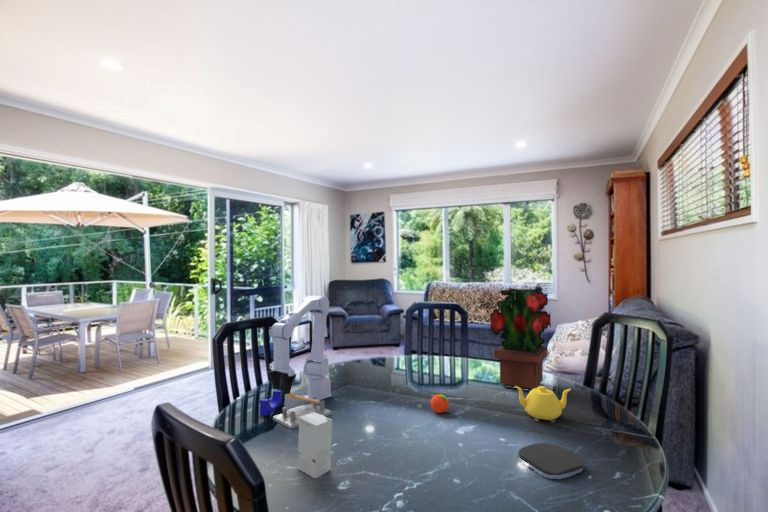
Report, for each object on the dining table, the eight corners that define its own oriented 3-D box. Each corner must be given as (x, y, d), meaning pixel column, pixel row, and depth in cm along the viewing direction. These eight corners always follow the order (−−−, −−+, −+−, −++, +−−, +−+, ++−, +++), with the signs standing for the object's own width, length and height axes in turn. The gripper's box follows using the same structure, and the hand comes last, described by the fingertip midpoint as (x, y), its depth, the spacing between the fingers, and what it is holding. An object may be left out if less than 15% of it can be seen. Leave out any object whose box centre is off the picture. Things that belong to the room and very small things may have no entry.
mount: (312, 406, 157) (312, 394, 157) (331, 414, 149) (331, 402, 149) (272, 419, 144) (272, 407, 144) (290, 429, 136) (290, 416, 136)
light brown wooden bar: (316, 403, 153) (318, 398, 154) (321, 405, 151) (323, 400, 151) (286, 396, 144) (288, 391, 144) (291, 398, 141) (293, 394, 142)
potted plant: (551, 383, 184) (550, 289, 185) (542, 397, 166) (541, 292, 166) (504, 376, 196) (503, 287, 197) (491, 388, 177) (490, 290, 178)
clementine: (454, 412, 149) (454, 394, 149) (444, 418, 144) (444, 399, 144) (437, 407, 155) (437, 389, 155) (427, 412, 150) (427, 394, 150)
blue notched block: (271, 404, 160) (271, 389, 160) (281, 405, 159) (281, 390, 159) (256, 415, 148) (256, 400, 148) (267, 416, 147) (267, 400, 148)
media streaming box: (551, 484, 102) (551, 472, 102) (512, 458, 116) (512, 448, 116) (590, 471, 108) (590, 461, 108) (549, 448, 122) (549, 439, 122)
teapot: (565, 410, 151) (565, 381, 151) (576, 427, 136) (576, 394, 136) (511, 407, 155) (511, 378, 155) (517, 422, 140) (516, 391, 140)
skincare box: (296, 469, 110) (296, 417, 110) (313, 461, 114) (313, 410, 114) (316, 480, 104) (315, 425, 104) (332, 470, 109) (332, 417, 109)
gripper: (262, 353, 147) (262, 389, 147) (282, 360, 137) (282, 398, 137) (278, 350, 152) (278, 384, 152) (299, 356, 142) (299, 393, 142)
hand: (281, 391), depth 145 cm, fingers open, 7 cm apart
